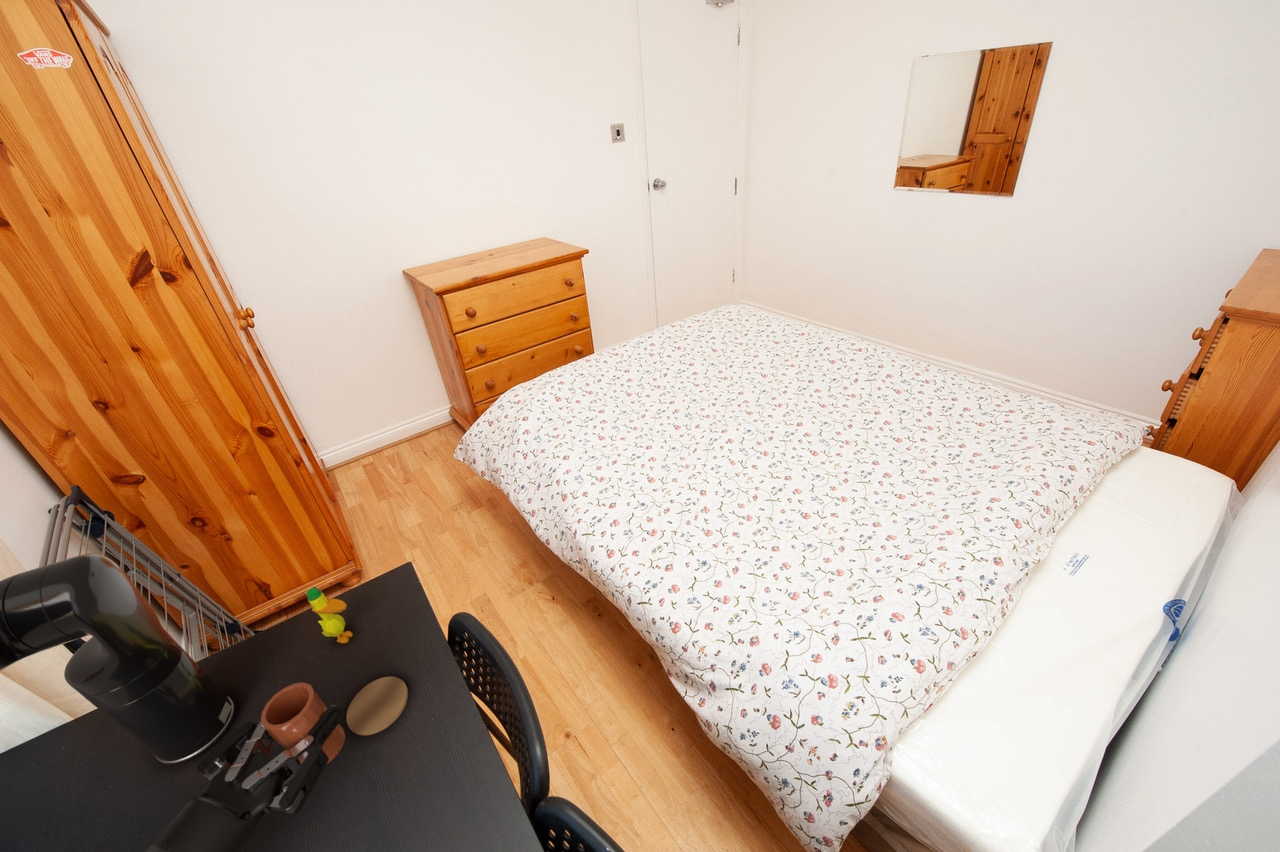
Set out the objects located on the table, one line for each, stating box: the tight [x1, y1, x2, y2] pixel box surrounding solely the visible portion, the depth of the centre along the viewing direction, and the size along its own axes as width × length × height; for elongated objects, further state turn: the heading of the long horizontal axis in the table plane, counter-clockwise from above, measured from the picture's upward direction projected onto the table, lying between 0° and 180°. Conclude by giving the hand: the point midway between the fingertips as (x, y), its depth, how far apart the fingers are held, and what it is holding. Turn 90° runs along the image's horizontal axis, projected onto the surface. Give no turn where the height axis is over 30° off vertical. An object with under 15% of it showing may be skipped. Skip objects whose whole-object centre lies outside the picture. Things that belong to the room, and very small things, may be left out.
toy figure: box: [305, 586, 354, 644], centre depth 81 cm, size 7×4×12 cm, turn 84°
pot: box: [260, 682, 346, 765], centre depth 61 cm, size 5×5×10 cm
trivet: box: [345, 676, 409, 736], centre depth 74 cm, size 8×8×1 cm
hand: (318, 702), depth 63 cm, fingers closed on pot, 5 cm apart
